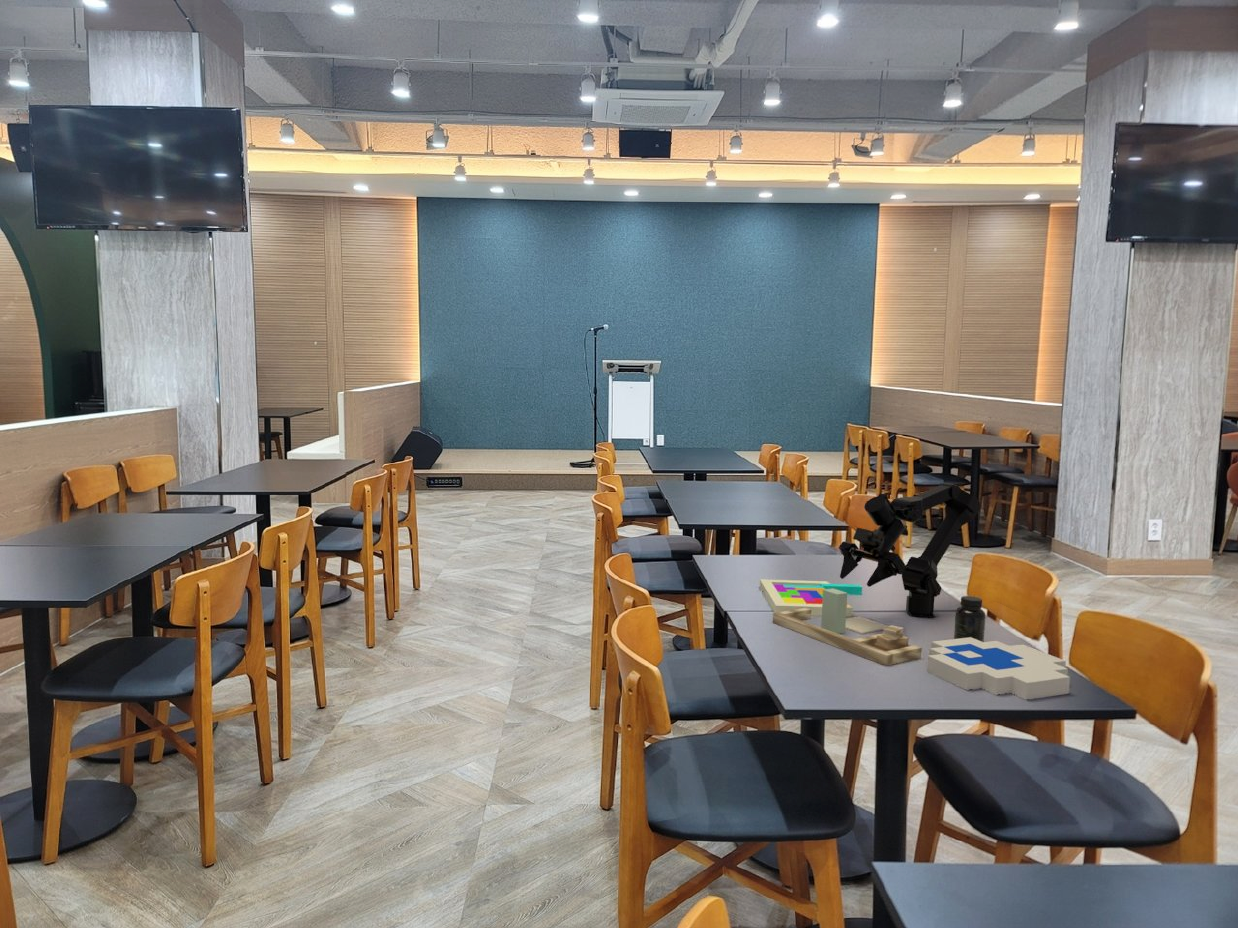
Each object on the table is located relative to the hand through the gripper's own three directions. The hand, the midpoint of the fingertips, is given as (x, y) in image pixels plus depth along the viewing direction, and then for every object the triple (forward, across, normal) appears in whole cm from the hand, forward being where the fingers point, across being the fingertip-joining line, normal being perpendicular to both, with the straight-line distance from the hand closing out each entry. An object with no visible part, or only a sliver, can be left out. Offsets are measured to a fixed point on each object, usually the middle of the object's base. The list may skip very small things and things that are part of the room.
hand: (854, 581), depth 220 cm
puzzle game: (+1, -23, +17) cm, 29 cm away
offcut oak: (+12, +19, +2) cm, 23 cm away
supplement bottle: (-2, +24, +19) cm, 31 cm away
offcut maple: (+11, +19, +1) cm, 22 cm away
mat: (+6, 0, +11) cm, 13 cm away
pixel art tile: (+7, +40, +11) cm, 42 cm away
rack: (+16, +6, +2) cm, 17 cm away
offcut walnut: (+14, +19, +4) cm, 24 cm away
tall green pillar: (+14, 0, +4) cm, 14 cm away
